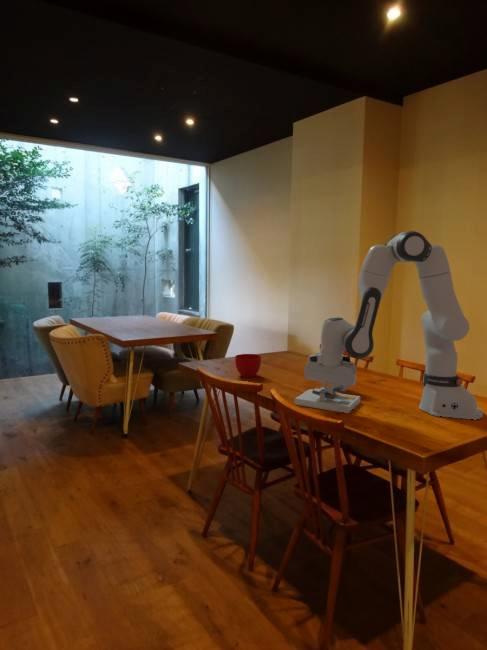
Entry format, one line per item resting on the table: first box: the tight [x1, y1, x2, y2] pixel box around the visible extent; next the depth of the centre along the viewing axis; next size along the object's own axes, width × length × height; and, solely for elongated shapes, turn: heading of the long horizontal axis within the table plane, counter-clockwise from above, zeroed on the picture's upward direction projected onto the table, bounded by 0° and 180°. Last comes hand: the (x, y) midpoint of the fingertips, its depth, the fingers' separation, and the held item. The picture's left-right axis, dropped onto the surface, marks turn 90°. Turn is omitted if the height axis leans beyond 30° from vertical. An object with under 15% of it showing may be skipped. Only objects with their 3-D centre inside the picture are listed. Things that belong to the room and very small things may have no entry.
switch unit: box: [294, 385, 361, 414], centre depth 185 cm, size 22×16×6 cm
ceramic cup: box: [234, 353, 262, 378], centre depth 232 cm, size 13×17×10 cm
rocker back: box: [320, 386, 343, 392], centre depth 188 cm, size 9×4×1 cm, turn 60°
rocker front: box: [312, 387, 337, 399], centre depth 181 cm, size 9×4×1 cm, turn 61°
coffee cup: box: [336, 355, 352, 392], centre depth 205 cm, size 8×8×15 cm
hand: (328, 393), depth 180 cm, fingers closed
